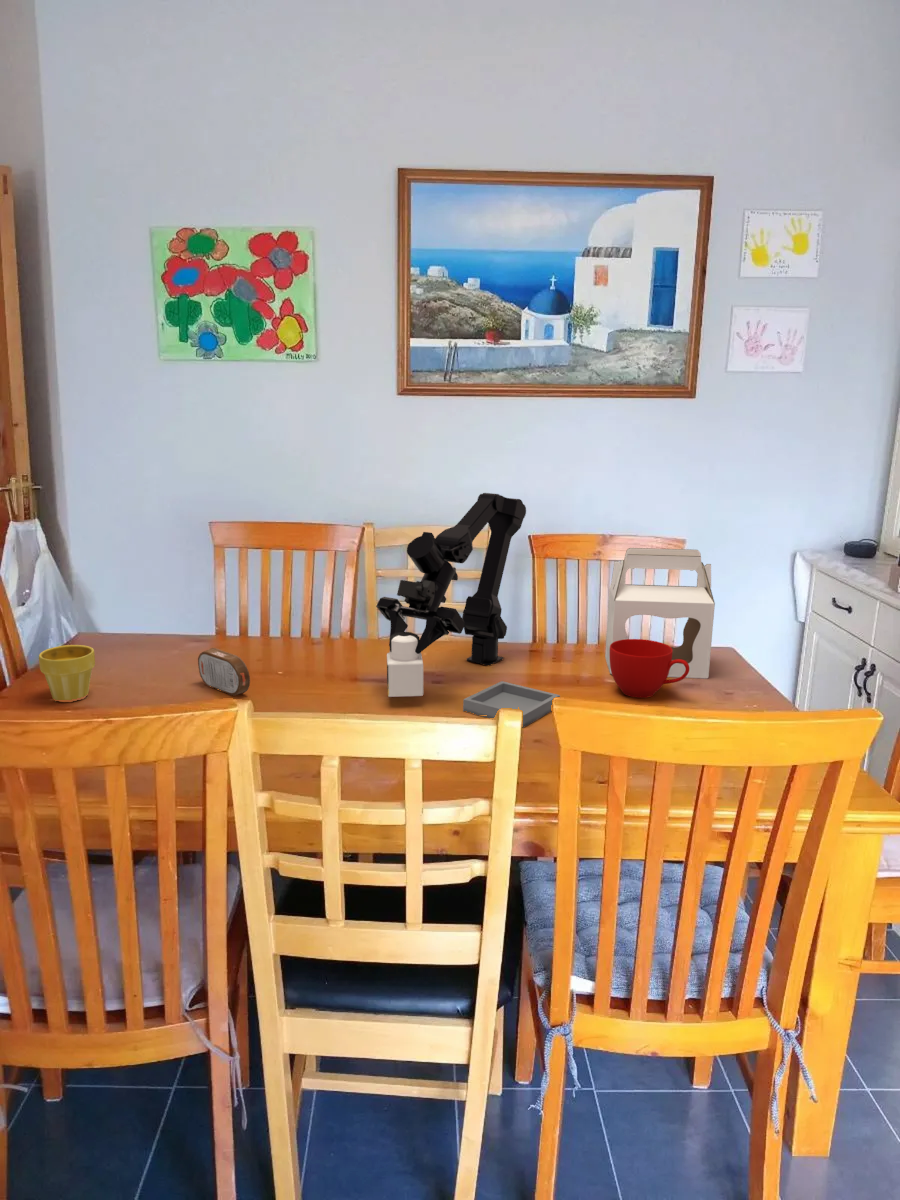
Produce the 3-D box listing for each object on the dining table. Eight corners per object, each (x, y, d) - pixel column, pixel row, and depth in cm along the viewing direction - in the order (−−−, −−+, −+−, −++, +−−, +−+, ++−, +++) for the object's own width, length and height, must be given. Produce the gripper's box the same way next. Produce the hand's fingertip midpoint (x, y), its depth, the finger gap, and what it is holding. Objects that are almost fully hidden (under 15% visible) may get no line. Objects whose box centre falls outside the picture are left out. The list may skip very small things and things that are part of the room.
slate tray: (501, 692, 187) (501, 681, 186) (559, 706, 179) (560, 695, 178) (463, 711, 176) (463, 699, 175) (523, 727, 168) (523, 715, 167)
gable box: (608, 675, 199) (616, 553, 192) (604, 657, 211) (610, 542, 205) (709, 679, 197) (720, 555, 190) (698, 661, 210) (708, 545, 203)
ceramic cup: (676, 711, 177) (680, 664, 174) (597, 695, 186) (600, 649, 183) (695, 693, 188) (699, 648, 185) (620, 678, 196) (623, 635, 194)
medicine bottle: (387, 684, 183) (386, 629, 180) (421, 684, 184) (421, 628, 181) (387, 697, 176) (386, 640, 173) (423, 696, 177) (423, 639, 174)
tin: (252, 696, 182) (250, 658, 180) (239, 700, 180) (237, 661, 178) (209, 680, 192) (206, 643, 190) (196, 684, 190) (194, 646, 188)
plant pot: (95, 703, 177) (91, 657, 175) (39, 708, 174) (34, 661, 172) (100, 687, 187) (96, 642, 185) (47, 691, 184) (42, 646, 182)
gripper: (380, 558, 183) (348, 622, 176) (457, 569, 173) (426, 637, 167) (403, 588, 191) (373, 649, 185) (477, 600, 182) (448, 665, 175)
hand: (403, 650), depth 178 cm, fingers closed on medicine bottle, 6 cm apart
